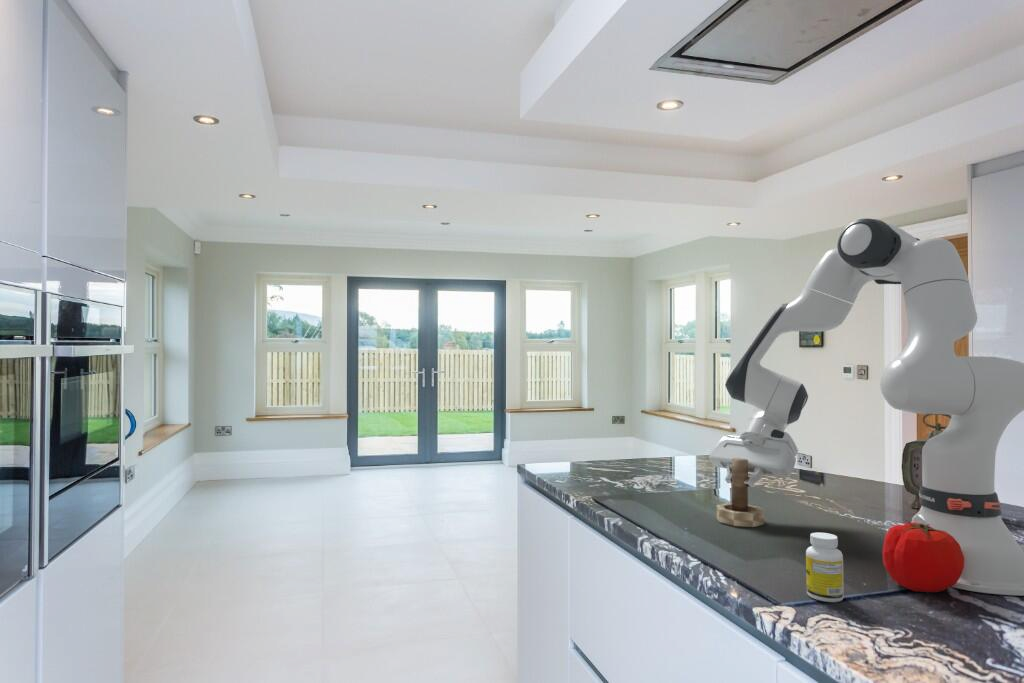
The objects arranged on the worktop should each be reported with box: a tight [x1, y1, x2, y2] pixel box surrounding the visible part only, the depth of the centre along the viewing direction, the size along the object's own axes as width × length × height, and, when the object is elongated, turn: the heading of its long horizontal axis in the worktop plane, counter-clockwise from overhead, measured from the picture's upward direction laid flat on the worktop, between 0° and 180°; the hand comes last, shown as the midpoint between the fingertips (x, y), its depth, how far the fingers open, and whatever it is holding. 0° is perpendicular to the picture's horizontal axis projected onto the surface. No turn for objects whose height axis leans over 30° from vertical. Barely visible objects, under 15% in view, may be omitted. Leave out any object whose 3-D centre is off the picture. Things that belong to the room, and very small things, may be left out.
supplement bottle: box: [805, 532, 845, 603], centre depth 102 cm, size 5×5×10 cm
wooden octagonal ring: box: [716, 502, 765, 528], centre depth 149 cm, size 10×10×3 cm
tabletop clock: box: [901, 414, 952, 508], centre depth 161 cm, size 14×9×25 cm, turn 42°
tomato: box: [881, 517, 964, 593], centre depth 105 cm, size 12×12×11 cm
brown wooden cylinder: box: [731, 458, 749, 512], centre depth 149 cm, size 4×4×12 cm
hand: (738, 483), depth 149 cm, fingers closed on brown wooden cylinder, 4 cm apart
